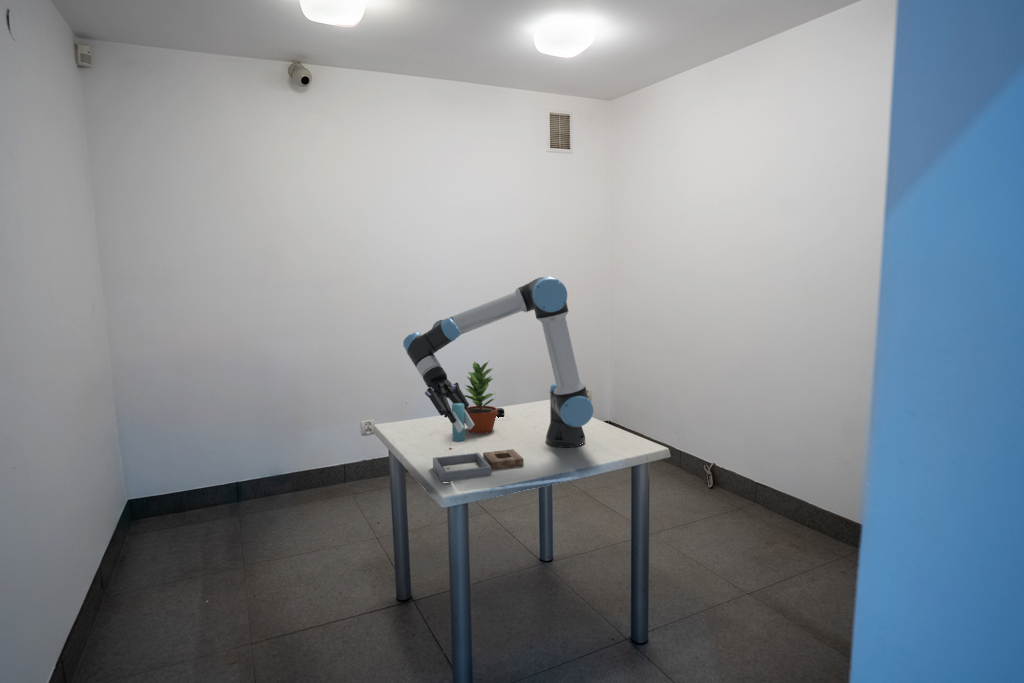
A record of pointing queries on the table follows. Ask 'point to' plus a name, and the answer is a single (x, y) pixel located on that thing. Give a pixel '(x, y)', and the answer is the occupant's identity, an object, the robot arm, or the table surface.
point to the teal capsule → (459, 411)
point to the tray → (460, 474)
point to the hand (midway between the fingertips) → (466, 428)
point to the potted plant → (480, 400)
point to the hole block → (503, 459)
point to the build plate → (500, 412)
